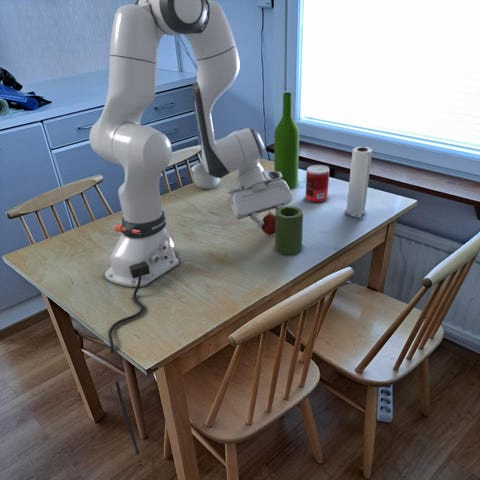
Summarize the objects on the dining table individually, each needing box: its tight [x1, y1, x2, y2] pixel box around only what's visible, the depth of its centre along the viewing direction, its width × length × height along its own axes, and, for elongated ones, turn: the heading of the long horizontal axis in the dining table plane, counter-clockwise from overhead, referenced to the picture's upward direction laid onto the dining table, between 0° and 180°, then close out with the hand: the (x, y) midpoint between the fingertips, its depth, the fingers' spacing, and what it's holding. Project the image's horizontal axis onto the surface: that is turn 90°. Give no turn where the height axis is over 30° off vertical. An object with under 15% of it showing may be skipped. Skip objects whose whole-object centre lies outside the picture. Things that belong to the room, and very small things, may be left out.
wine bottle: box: [273, 92, 300, 190], centre depth 168 cm, size 9×9×32 cm
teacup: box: [190, 162, 221, 190], centre depth 180 cm, size 14×11×8 cm
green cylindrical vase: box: [275, 205, 304, 256], centre depth 136 cm, size 8×8×12 cm
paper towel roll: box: [345, 146, 373, 220], centre depth 150 cm, size 7×6×21 cm
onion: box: [260, 211, 276, 237], centre depth 144 cm, size 6×6×8 cm
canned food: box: [305, 164, 330, 204], centre depth 164 cm, size 8×8×11 cm
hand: (271, 223), depth 143 cm, fingers closed on onion, 5 cm apart
